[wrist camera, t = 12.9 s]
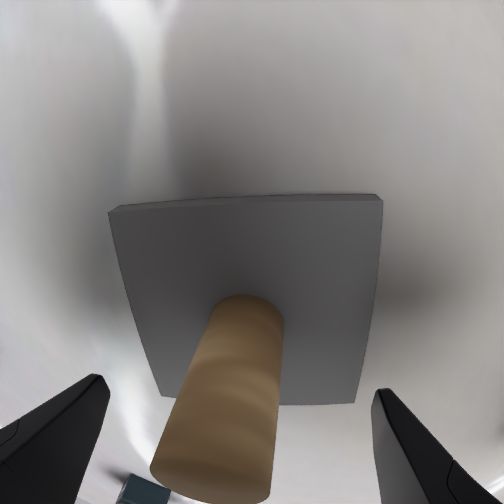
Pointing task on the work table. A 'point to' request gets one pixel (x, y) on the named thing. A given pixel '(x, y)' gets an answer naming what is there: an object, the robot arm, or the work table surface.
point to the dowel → (226, 408)
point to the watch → (142, 492)
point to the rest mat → (256, 281)
